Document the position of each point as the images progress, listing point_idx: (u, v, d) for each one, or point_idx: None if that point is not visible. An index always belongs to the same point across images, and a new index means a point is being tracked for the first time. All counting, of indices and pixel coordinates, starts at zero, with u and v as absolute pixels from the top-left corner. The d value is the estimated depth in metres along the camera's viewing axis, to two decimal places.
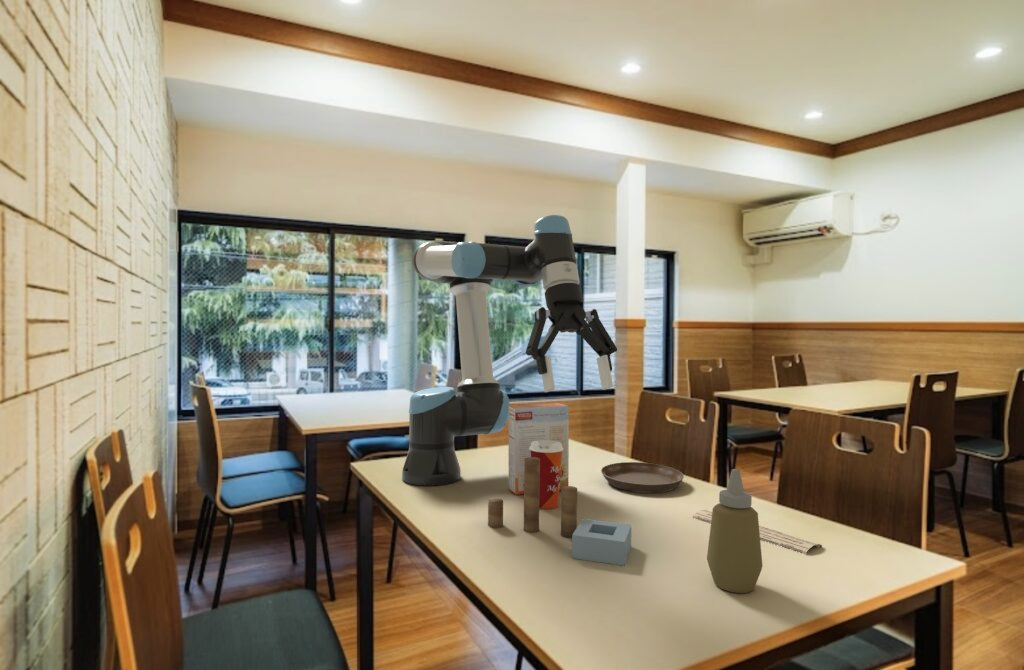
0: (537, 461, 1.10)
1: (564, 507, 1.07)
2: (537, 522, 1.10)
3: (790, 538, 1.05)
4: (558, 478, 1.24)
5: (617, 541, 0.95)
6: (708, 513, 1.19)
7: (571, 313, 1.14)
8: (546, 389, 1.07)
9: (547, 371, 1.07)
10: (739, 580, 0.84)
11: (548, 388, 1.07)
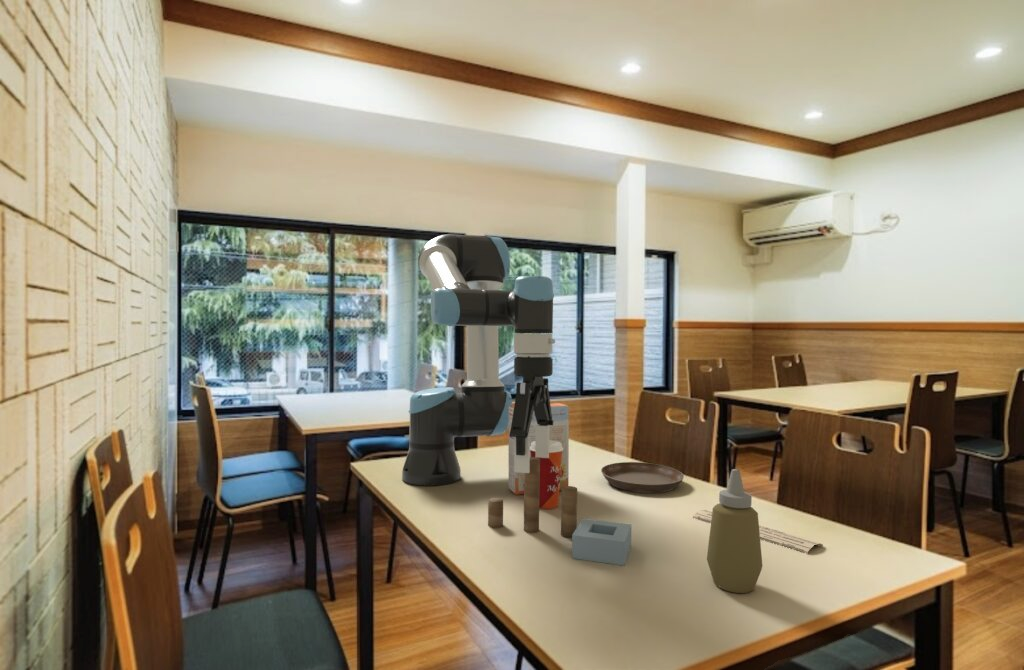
0: (537, 461, 1.10)
1: (564, 507, 1.07)
2: (537, 522, 1.10)
3: (791, 538, 1.05)
4: (558, 478, 1.24)
5: (617, 541, 0.95)
6: (708, 513, 1.19)
7: (539, 386, 1.10)
8: (517, 470, 1.04)
9: (526, 453, 1.03)
10: (739, 580, 0.84)
11: (522, 470, 1.03)
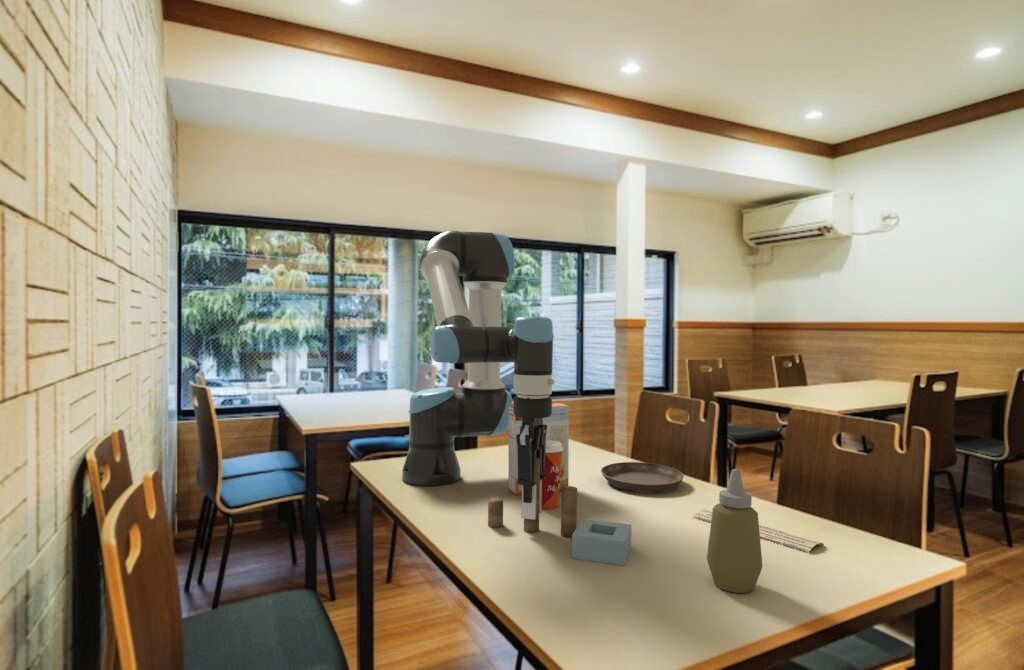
0: (537, 461, 1.10)
1: (564, 507, 1.07)
2: (537, 522, 1.10)
3: (792, 537, 1.06)
4: (558, 478, 1.24)
5: (617, 541, 0.95)
6: (708, 513, 1.19)
7: (539, 418, 1.11)
8: (524, 516, 1.09)
9: (532, 500, 1.08)
10: (739, 580, 0.84)
11: (529, 517, 1.09)
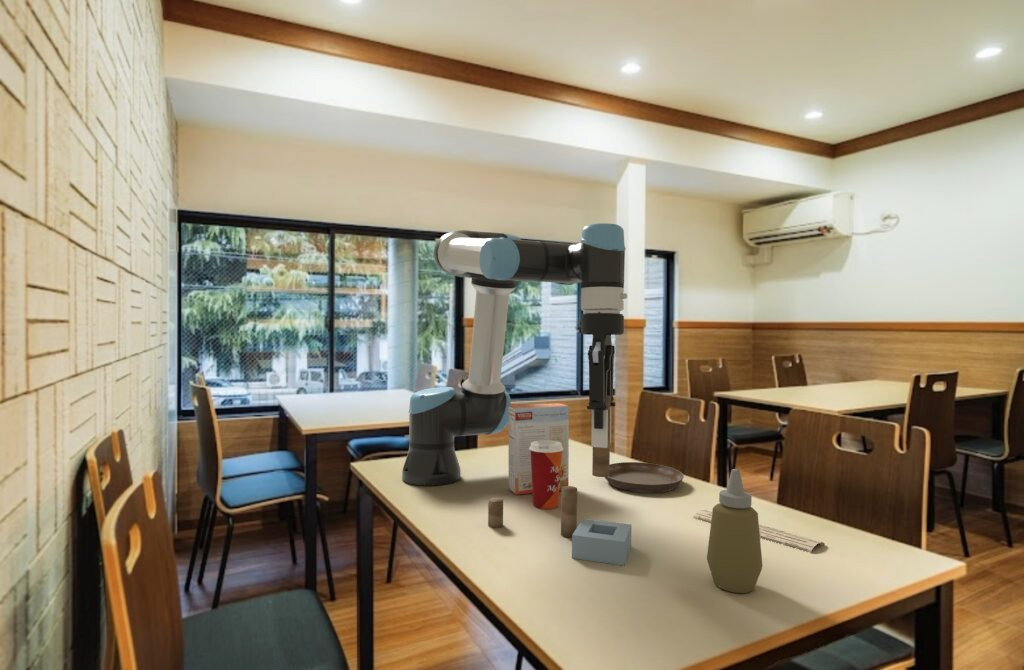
0: (608, 398, 0.99)
1: (563, 507, 1.07)
2: (608, 466, 0.99)
3: (793, 537, 1.06)
4: (558, 478, 1.24)
5: (617, 541, 0.95)
6: (708, 513, 1.19)
7: (609, 338, 1.00)
8: (595, 444, 0.98)
9: (604, 427, 0.98)
10: (739, 580, 0.84)
11: (600, 445, 0.98)
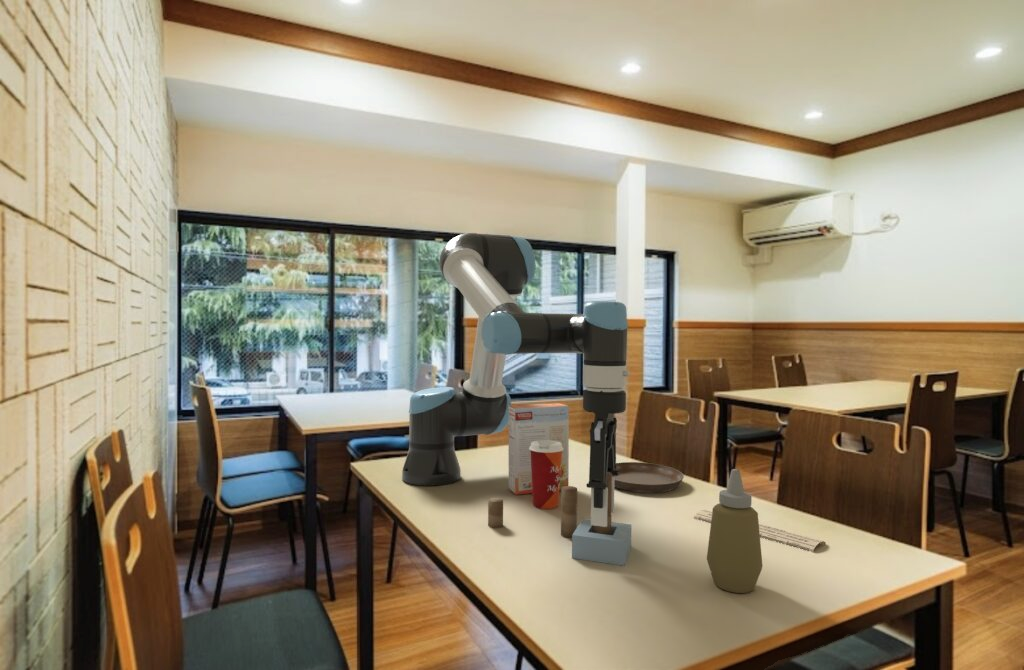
0: (610, 476, 0.99)
1: (564, 507, 1.07)
2: None
3: (795, 536, 1.06)
4: (558, 478, 1.24)
5: (617, 541, 0.95)
6: (709, 513, 1.19)
7: (610, 417, 1.00)
8: (594, 523, 0.97)
9: (603, 505, 0.96)
10: (739, 580, 0.84)
11: (600, 524, 0.96)
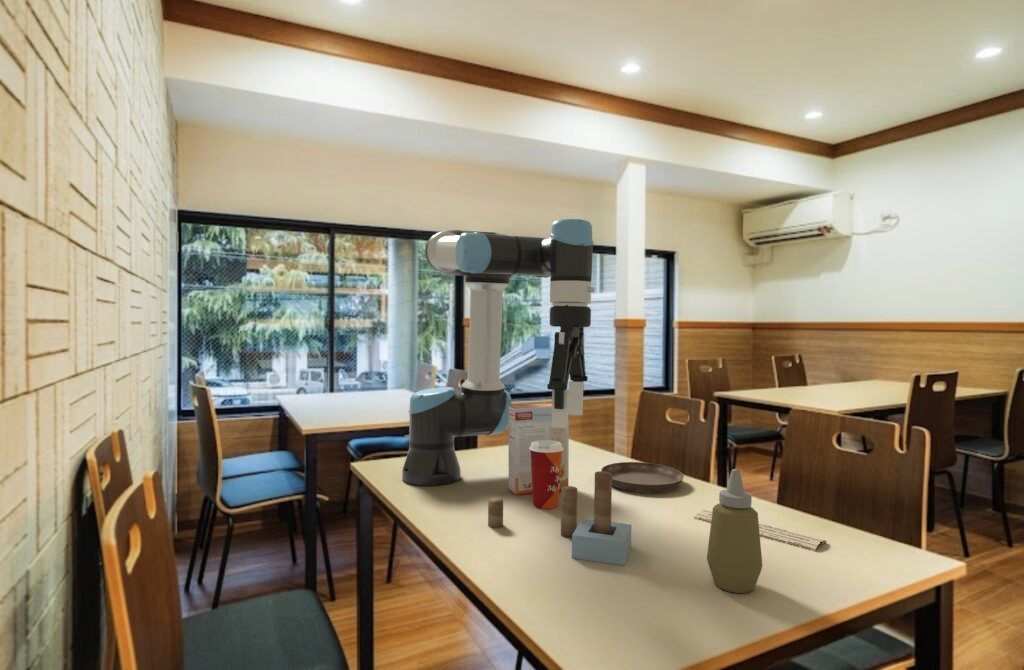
0: (609, 476, 0.99)
1: (563, 507, 1.07)
2: None
3: (796, 535, 1.06)
4: (558, 478, 1.24)
5: (617, 541, 0.95)
6: (709, 513, 1.19)
7: (576, 337, 1.04)
8: (555, 425, 0.98)
9: (564, 407, 0.97)
10: (739, 580, 0.84)
11: (560, 425, 0.97)
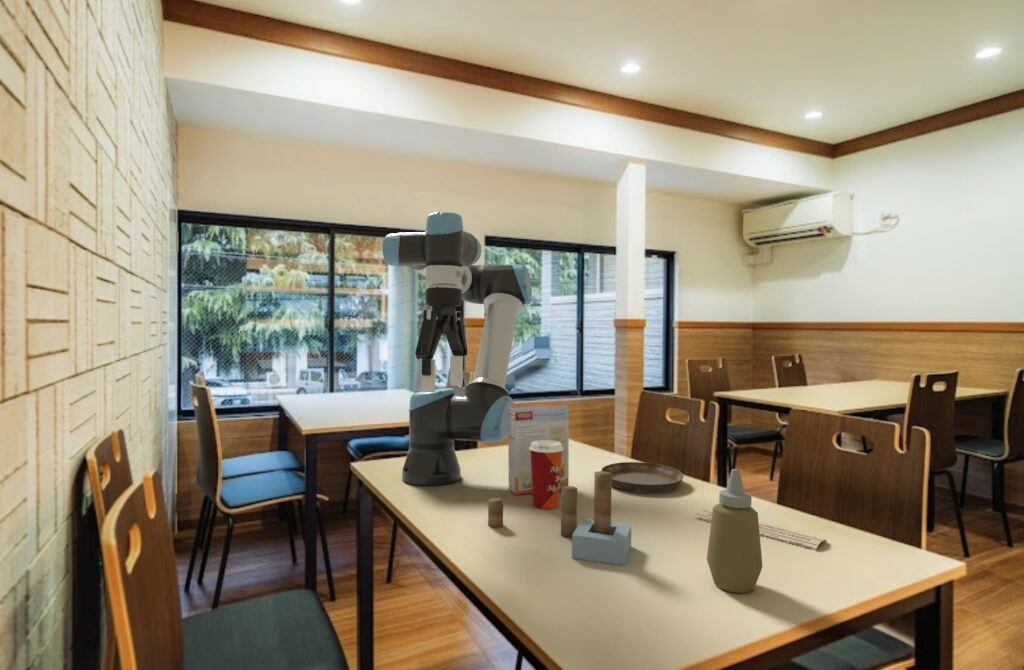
0: (609, 476, 0.99)
1: (564, 507, 1.07)
2: None
3: (796, 535, 1.07)
4: (558, 478, 1.24)
5: (617, 541, 0.95)
6: (709, 513, 1.19)
7: None
8: (424, 390, 1.12)
9: (431, 374, 1.12)
10: (739, 580, 0.84)
11: (428, 390, 1.12)
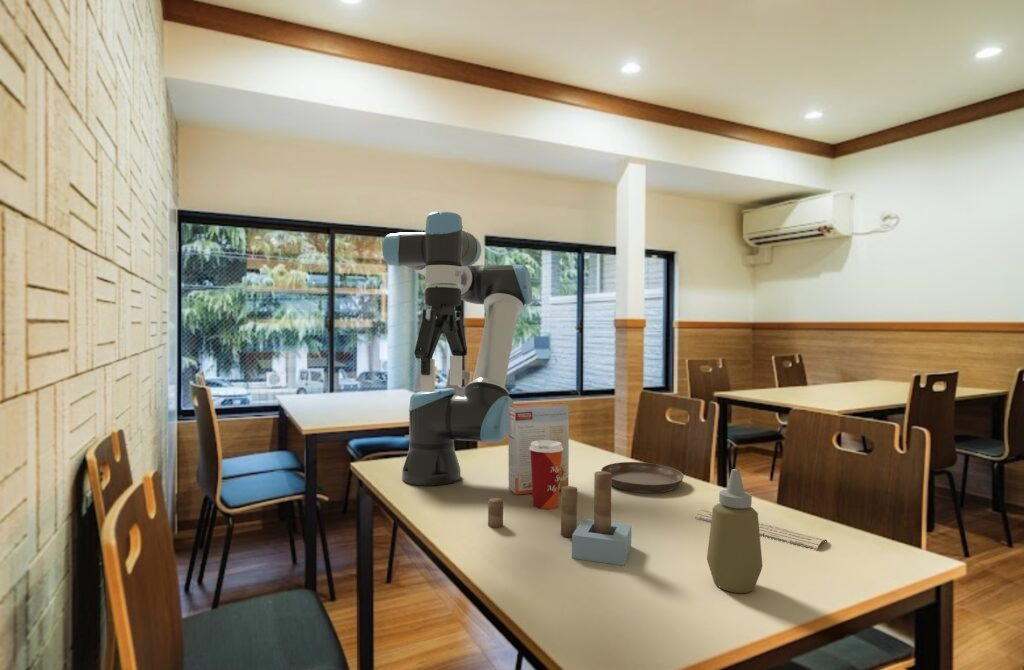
0: (609, 476, 0.99)
1: (564, 507, 1.07)
2: None
3: (797, 535, 1.07)
4: (558, 478, 1.24)
5: (617, 541, 0.95)
6: (709, 513, 1.19)
7: None
8: (423, 389, 1.12)
9: (430, 373, 1.12)
10: (739, 580, 0.84)
11: (427, 389, 1.12)
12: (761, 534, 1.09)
